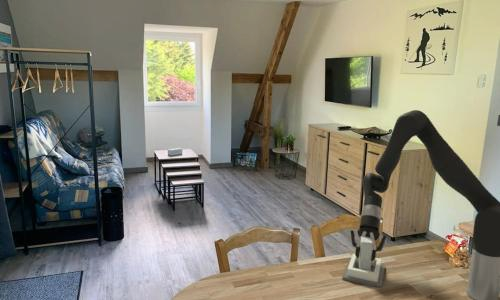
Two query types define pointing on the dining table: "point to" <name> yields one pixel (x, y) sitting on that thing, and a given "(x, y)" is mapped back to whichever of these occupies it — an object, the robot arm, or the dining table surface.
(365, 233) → the robot arm
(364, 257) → the skincare box
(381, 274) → the socket plate
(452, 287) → the dining table surface
